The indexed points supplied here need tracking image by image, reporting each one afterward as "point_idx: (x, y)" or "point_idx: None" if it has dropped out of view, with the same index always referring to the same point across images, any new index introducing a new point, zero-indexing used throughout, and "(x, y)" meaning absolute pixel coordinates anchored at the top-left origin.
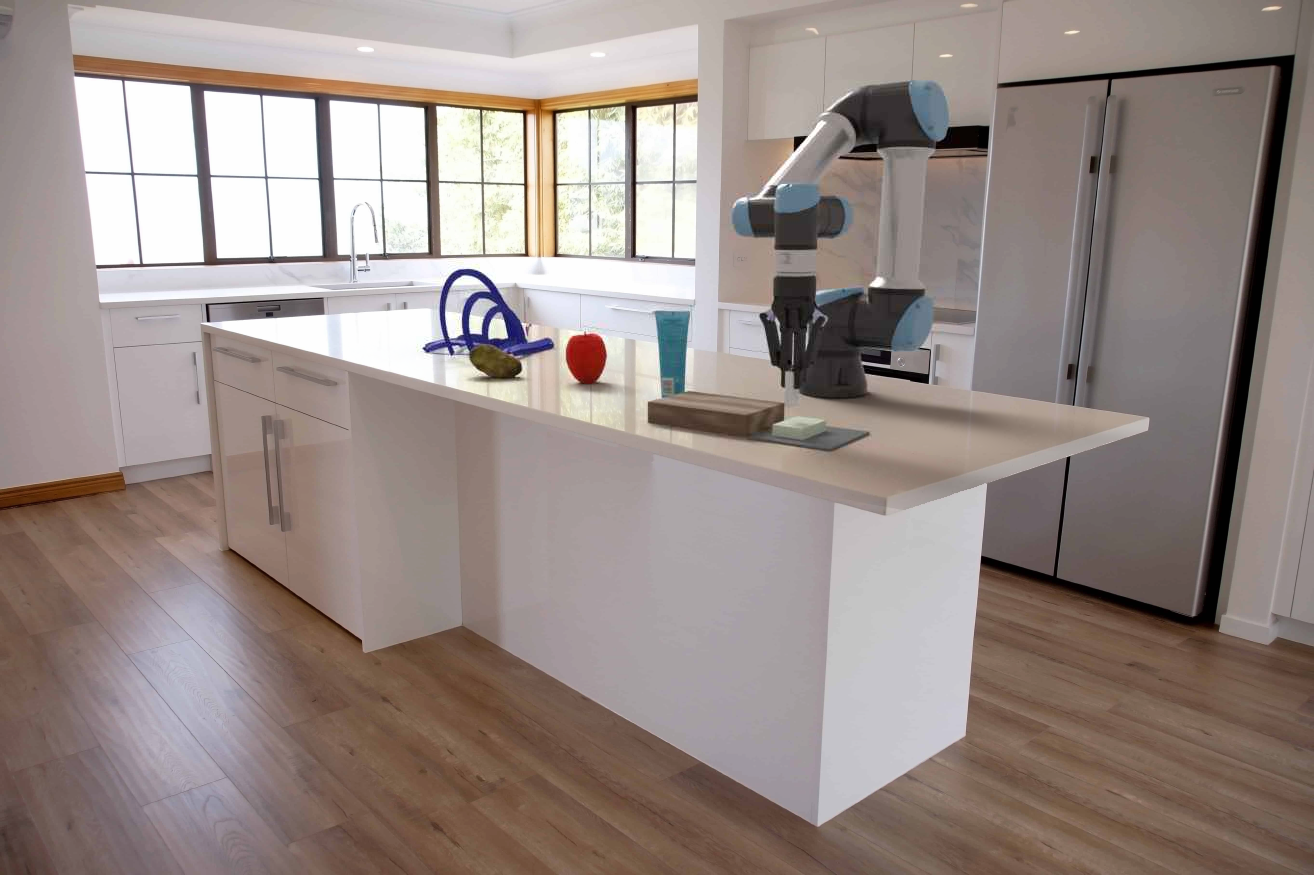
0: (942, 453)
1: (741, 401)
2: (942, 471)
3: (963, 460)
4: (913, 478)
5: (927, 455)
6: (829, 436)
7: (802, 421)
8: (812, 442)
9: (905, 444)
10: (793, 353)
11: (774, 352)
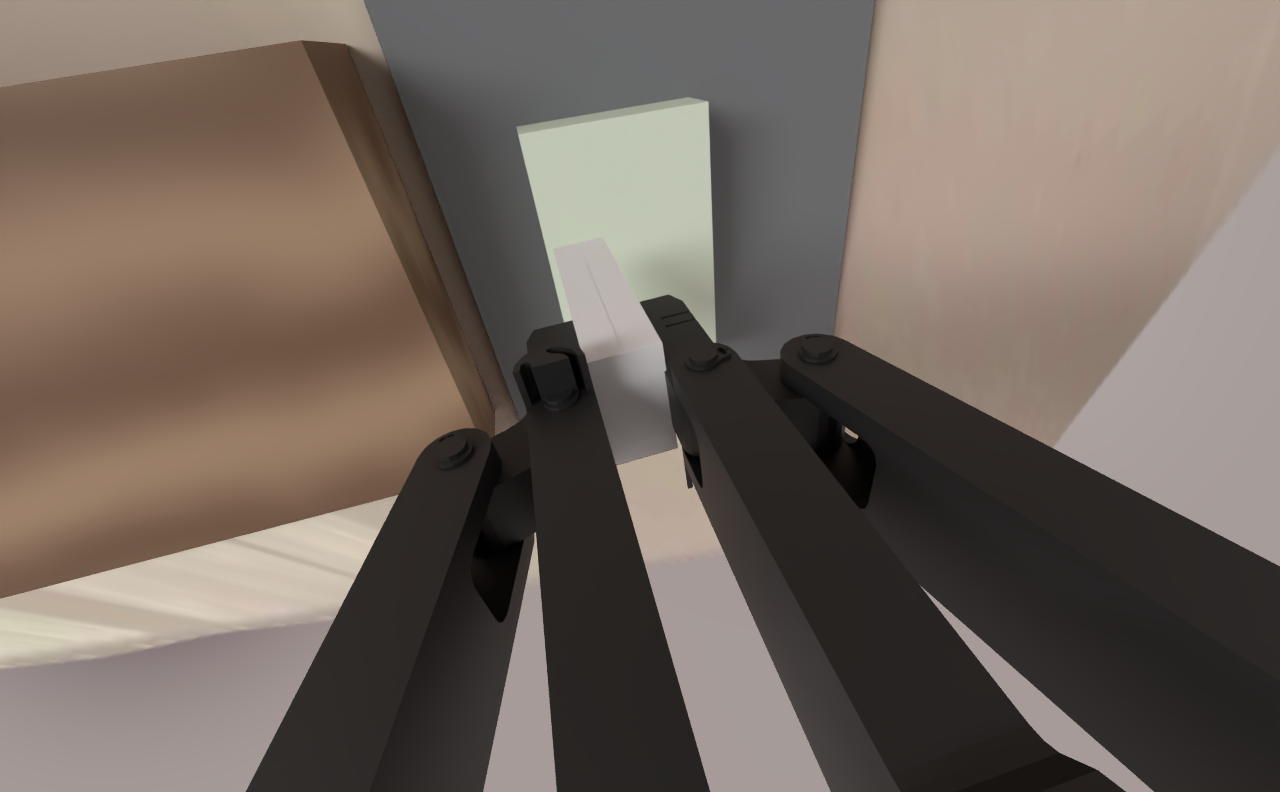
0: (1183, 75)
1: (77, 259)
2: (1138, 289)
3: (1231, 123)
4: (1063, 386)
5: (1124, 150)
6: (756, 194)
7: (632, 233)
8: (747, 325)
9: (1057, 29)
10: (734, 573)
11: (505, 640)
